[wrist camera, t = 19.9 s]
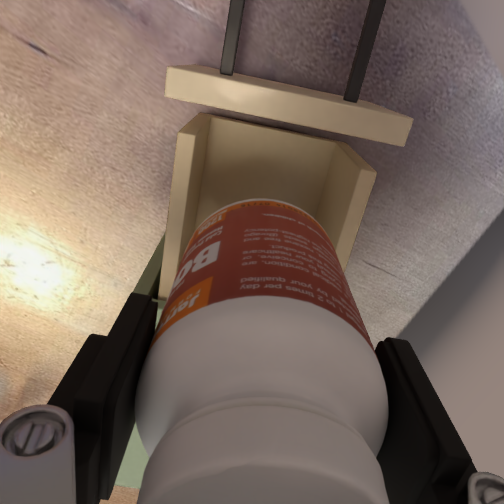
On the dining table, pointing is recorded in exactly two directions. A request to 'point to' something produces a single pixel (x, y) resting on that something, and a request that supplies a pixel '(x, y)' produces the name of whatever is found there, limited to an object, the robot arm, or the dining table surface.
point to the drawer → (273, 146)
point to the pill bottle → (261, 371)
